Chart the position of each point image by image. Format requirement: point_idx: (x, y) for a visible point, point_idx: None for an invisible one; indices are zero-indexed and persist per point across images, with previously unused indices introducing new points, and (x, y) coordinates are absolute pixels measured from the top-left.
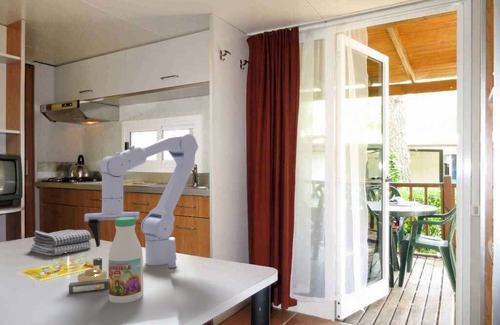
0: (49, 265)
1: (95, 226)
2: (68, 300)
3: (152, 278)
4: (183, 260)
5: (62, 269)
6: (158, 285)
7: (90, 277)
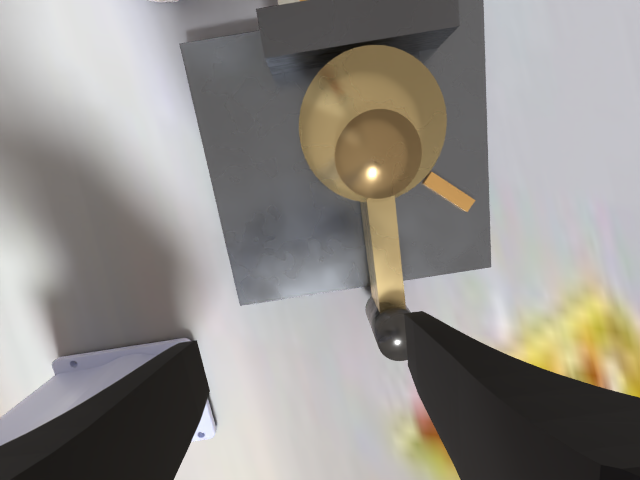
0: None
1: (590, 430)
2: None
3: (128, 232)
4: None
5: None
6: (72, 130)
7: (369, 72)
